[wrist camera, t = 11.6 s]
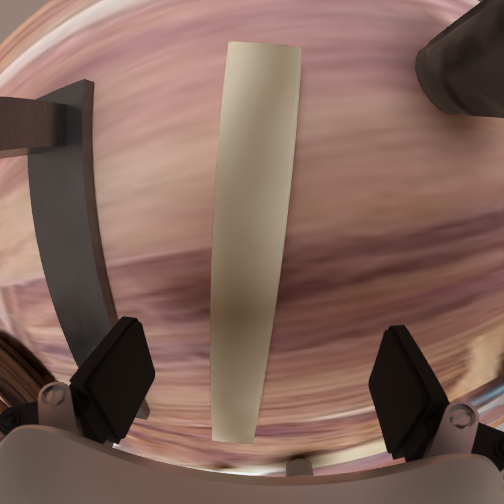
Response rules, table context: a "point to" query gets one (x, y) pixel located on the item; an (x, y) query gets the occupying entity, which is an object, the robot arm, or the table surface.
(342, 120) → the table surface
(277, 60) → the maple bar
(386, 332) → the robot arm
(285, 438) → the table surface
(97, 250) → the grey frame stand
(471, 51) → the beverage cup
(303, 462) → the lightbulb
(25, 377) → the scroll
